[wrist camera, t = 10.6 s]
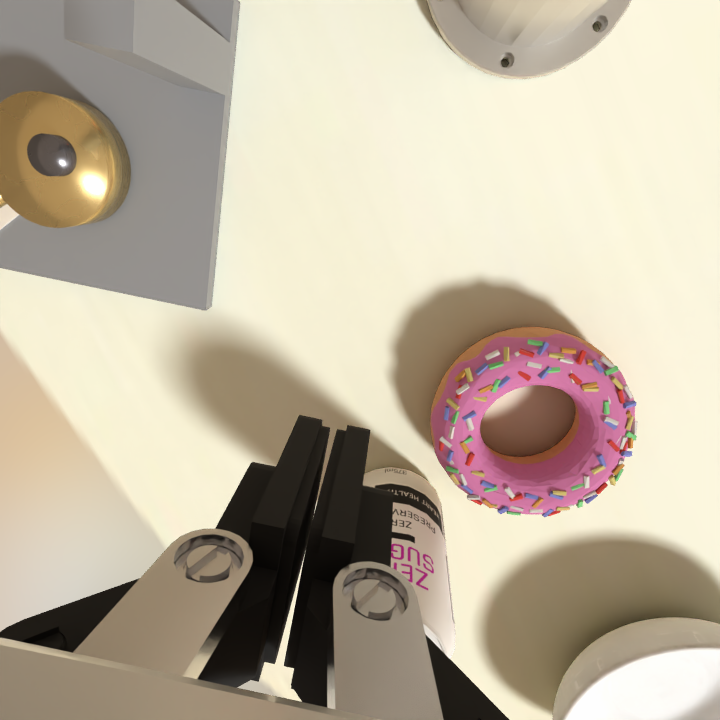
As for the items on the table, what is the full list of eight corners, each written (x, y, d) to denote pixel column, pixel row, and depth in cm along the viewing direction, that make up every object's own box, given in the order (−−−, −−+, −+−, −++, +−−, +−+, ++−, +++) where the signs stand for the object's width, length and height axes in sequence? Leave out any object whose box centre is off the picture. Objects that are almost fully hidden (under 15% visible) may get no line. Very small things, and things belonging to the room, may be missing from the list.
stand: (-21, -50, 33) (-281, -189, 20) (239, 2, 32) (138, -107, 20) (-4, 262, 40) (-192, 300, 27) (211, 306, 39) (122, 365, 27)
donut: (444, 498, 43) (449, 537, 39) (414, 339, 39) (415, 361, 34) (623, 474, 41) (652, 512, 37) (612, 302, 37) (642, 321, 32)
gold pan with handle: (92, 77, 33) (51, 63, 29) (152, 198, 35) (121, 200, 32) (-99, 176, 36) (-159, 176, 33) (-33, 281, 39) (-82, 293, 35)
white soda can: (366, 555, 46) (348, 722, 32) (329, 478, 43) (293, 623, 29) (454, 530, 44) (476, 695, 30) (420, 450, 42) (428, 588, 28)
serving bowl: (827, 667, 46) (897, 748, 39) (645, 781, 52) (679, 866, 46) (660, 540, 43) (705, 604, 36) (489, 677, 49) (501, 752, 43)
